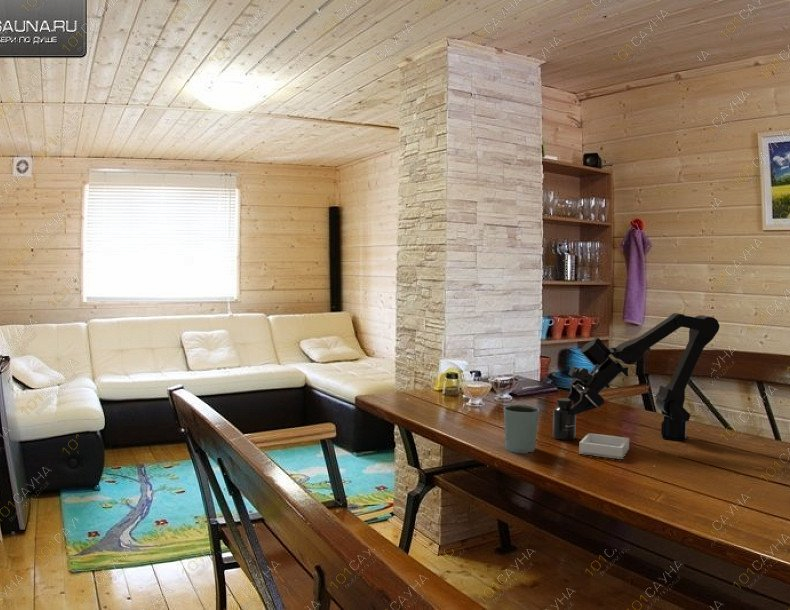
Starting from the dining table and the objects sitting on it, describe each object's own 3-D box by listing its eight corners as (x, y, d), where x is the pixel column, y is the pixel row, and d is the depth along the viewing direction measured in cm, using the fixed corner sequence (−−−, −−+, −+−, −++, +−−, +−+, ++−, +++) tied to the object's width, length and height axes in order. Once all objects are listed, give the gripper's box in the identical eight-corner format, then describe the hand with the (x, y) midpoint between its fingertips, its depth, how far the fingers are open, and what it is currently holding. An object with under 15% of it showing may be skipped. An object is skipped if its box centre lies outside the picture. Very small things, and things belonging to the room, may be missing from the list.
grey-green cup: (496, 446, 198) (497, 406, 197) (526, 442, 201) (527, 403, 200) (514, 455, 188) (515, 413, 187) (545, 451, 192) (546, 410, 191)
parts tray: (628, 449, 194) (629, 438, 193) (621, 460, 184) (622, 447, 183) (588, 444, 199) (588, 433, 199) (579, 454, 189) (579, 442, 189)
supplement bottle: (570, 442, 202) (571, 402, 201) (549, 438, 206) (549, 399, 205) (579, 437, 207) (579, 399, 207) (558, 433, 212) (558, 396, 211)
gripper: (577, 352, 214) (541, 386, 215) (594, 361, 196) (555, 399, 196) (601, 377, 215) (565, 411, 216) (620, 388, 196) (581, 425, 197)
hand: (566, 411), depth 206 cm, fingers open, 9 cm apart
